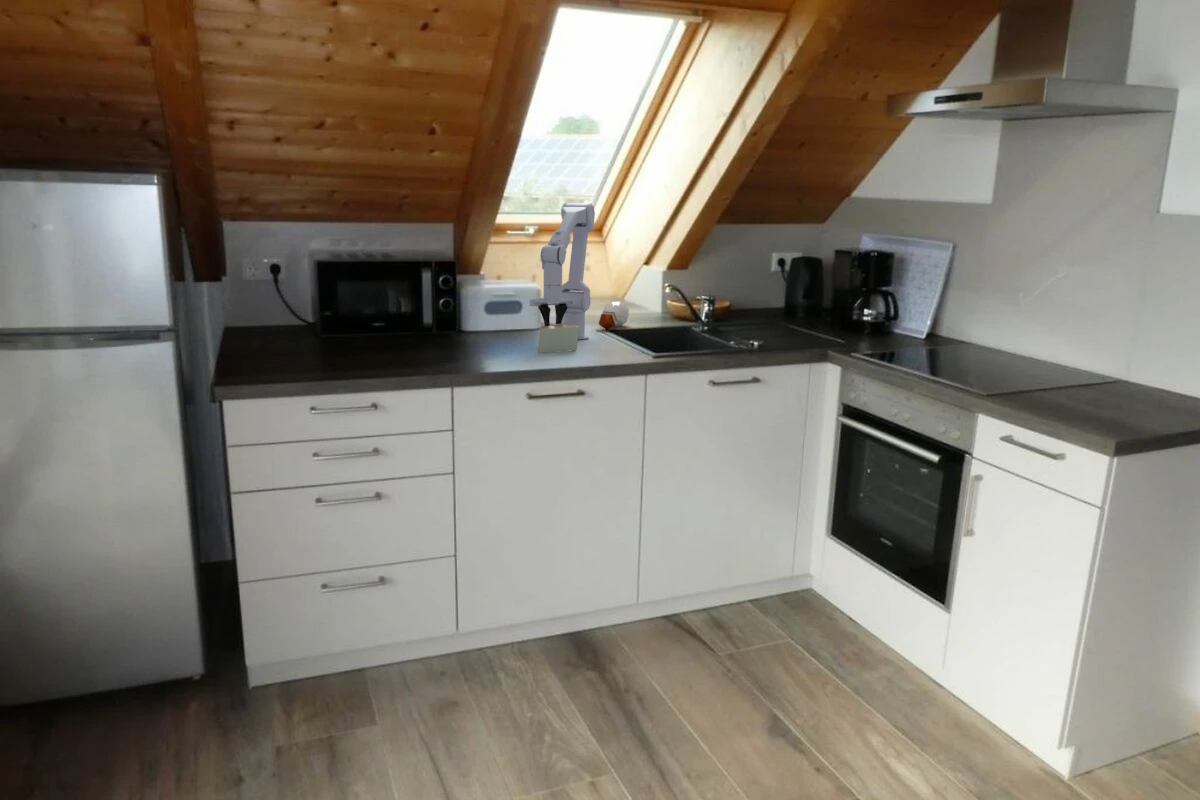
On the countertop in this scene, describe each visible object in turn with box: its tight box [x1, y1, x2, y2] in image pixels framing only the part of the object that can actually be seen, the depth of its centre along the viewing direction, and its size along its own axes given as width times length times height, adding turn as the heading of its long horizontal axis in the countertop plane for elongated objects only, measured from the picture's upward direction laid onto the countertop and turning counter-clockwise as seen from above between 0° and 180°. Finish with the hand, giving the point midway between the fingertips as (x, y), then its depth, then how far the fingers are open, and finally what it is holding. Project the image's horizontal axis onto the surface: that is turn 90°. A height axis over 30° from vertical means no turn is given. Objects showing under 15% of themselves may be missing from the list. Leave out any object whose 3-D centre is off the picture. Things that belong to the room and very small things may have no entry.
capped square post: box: [540, 321, 564, 327], centre depth 275 cm, size 11×4×4 cm, turn 23°
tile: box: [537, 325, 579, 354], centre depth 270 cm, size 2×12×8 cm, turn 113°
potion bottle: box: [598, 300, 630, 330], centre depth 313 cm, size 9×10×15 cm
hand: (552, 328), depth 274 cm, fingers closed on capped square post, 3 cm apart
